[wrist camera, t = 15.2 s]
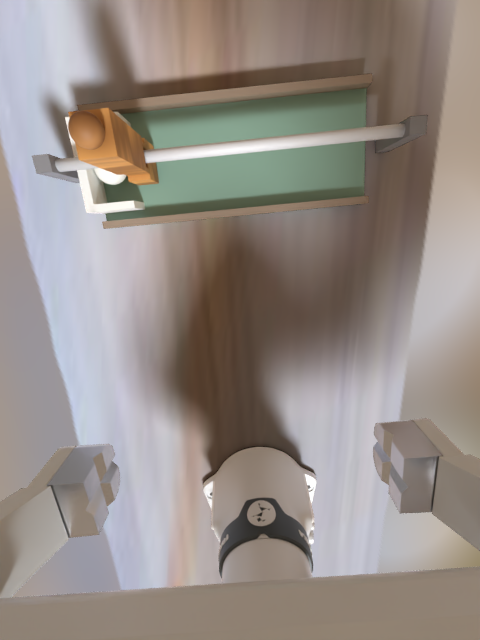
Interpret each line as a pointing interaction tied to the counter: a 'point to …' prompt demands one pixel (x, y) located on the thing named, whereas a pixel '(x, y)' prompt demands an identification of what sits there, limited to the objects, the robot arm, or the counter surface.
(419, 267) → the counter surface
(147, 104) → the pitch
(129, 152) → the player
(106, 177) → the ball
